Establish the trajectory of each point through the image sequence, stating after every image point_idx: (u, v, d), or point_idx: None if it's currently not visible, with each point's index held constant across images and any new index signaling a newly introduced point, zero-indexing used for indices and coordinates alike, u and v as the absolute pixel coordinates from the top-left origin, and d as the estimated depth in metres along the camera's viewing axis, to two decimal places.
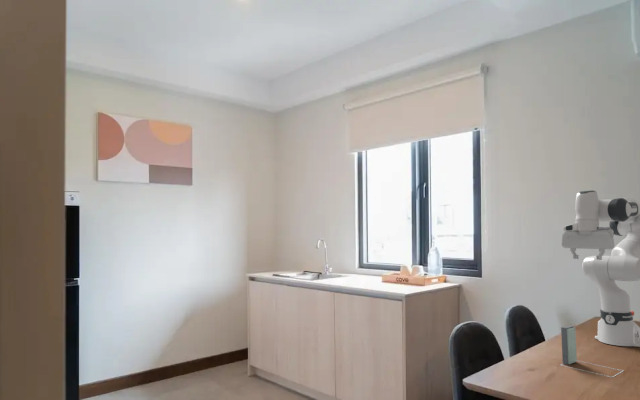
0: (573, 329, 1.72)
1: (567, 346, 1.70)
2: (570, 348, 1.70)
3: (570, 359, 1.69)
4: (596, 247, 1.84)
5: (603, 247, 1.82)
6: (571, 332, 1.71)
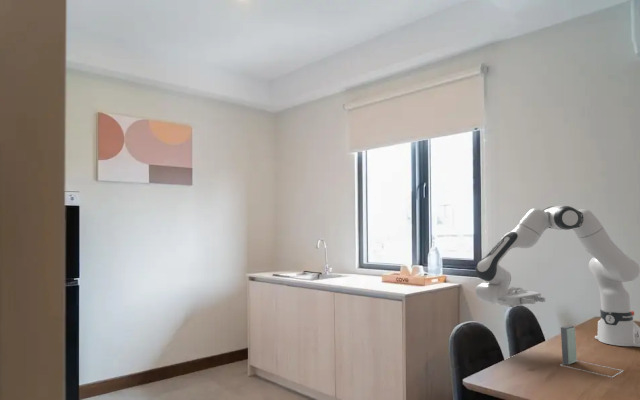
0: (573, 329, 1.72)
1: (567, 346, 1.70)
2: (570, 348, 1.70)
3: (570, 359, 1.69)
4: None
5: None
6: (571, 332, 1.71)
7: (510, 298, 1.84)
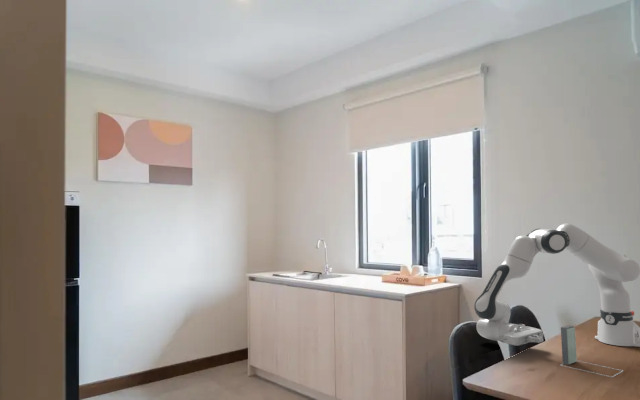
0: (573, 329, 1.72)
1: (567, 346, 1.70)
2: (570, 348, 1.70)
3: (570, 359, 1.69)
4: (523, 343, 1.83)
5: None
6: (571, 332, 1.71)
7: (512, 338, 1.81)
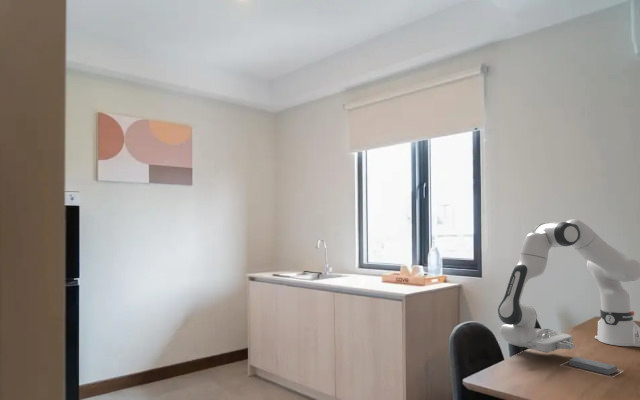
0: None
1: (588, 369, 1.63)
2: None
3: None
4: (553, 350, 1.72)
5: None
6: None
7: (541, 344, 1.71)
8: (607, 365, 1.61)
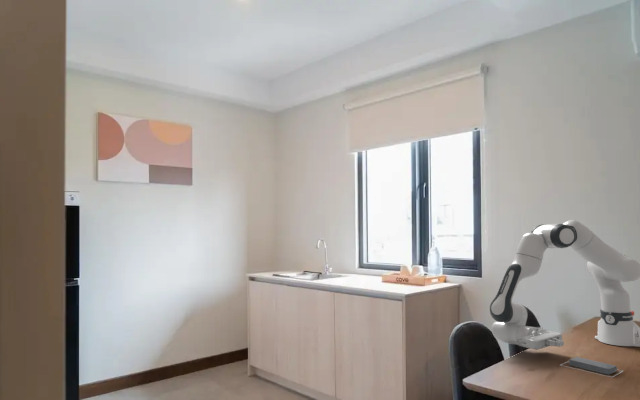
0: None
1: (588, 369, 1.63)
2: None
3: None
4: (543, 347, 1.75)
5: None
6: None
7: (531, 341, 1.74)
8: (607, 365, 1.61)
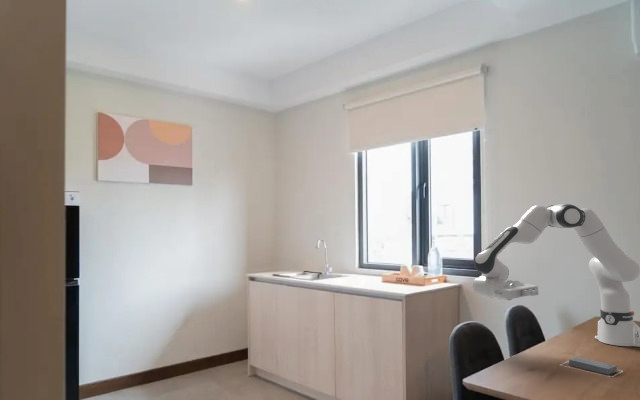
0: None
1: (588, 369, 1.63)
2: None
3: None
4: (518, 297, 1.85)
5: None
6: None
7: (507, 291, 1.83)
8: (607, 365, 1.61)
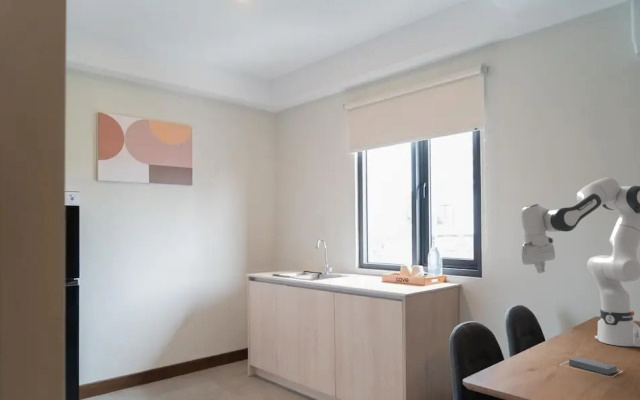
0: None
1: (588, 369, 1.63)
2: None
3: None
4: None
5: None
6: None
7: (528, 259, 1.87)
8: (607, 365, 1.61)
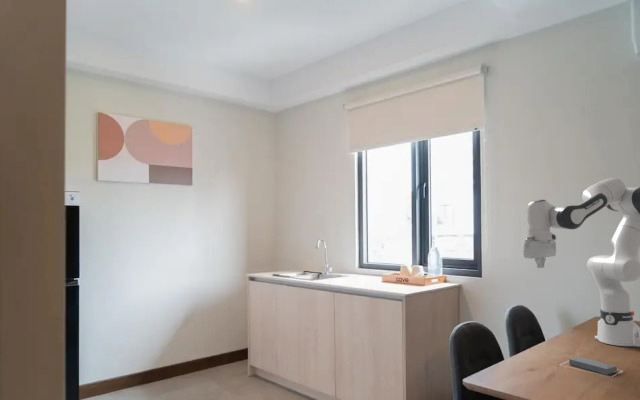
0: None
1: (587, 369, 1.63)
2: None
3: None
4: None
5: None
6: None
7: (529, 253, 1.87)
8: (606, 365, 1.61)
